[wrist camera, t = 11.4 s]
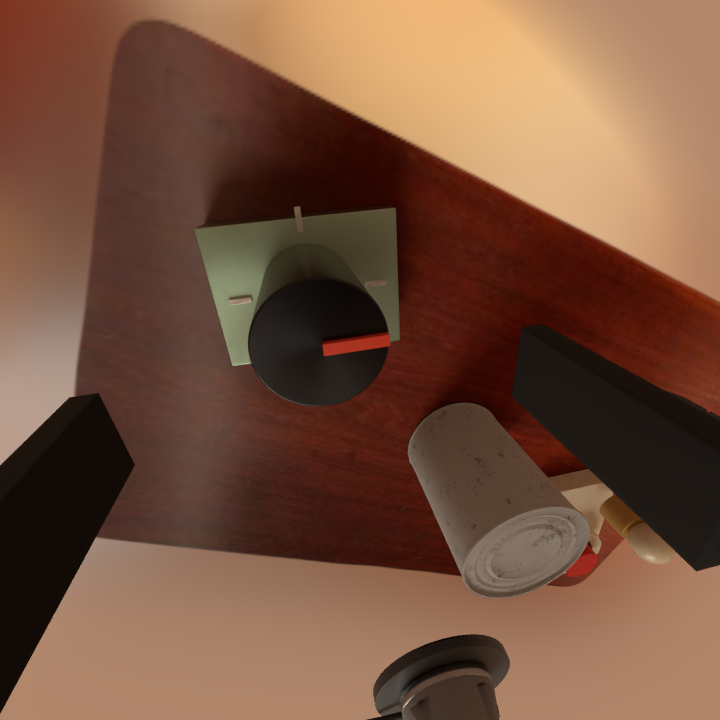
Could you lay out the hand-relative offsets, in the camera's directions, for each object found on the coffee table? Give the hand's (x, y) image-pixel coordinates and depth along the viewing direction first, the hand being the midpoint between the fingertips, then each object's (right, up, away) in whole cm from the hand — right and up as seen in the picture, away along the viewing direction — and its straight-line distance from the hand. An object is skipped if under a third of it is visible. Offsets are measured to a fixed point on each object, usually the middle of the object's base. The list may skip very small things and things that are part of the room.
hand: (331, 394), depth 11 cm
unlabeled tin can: (+10, -7, +24) cm, 27 cm away
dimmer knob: (-2, +5, +12) cm, 13 cm away
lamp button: (+26, -22, +30) cm, 45 cm away
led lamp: (+29, -15, +27) cm, 42 cm away
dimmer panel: (-3, +7, +14) cm, 16 cm away
